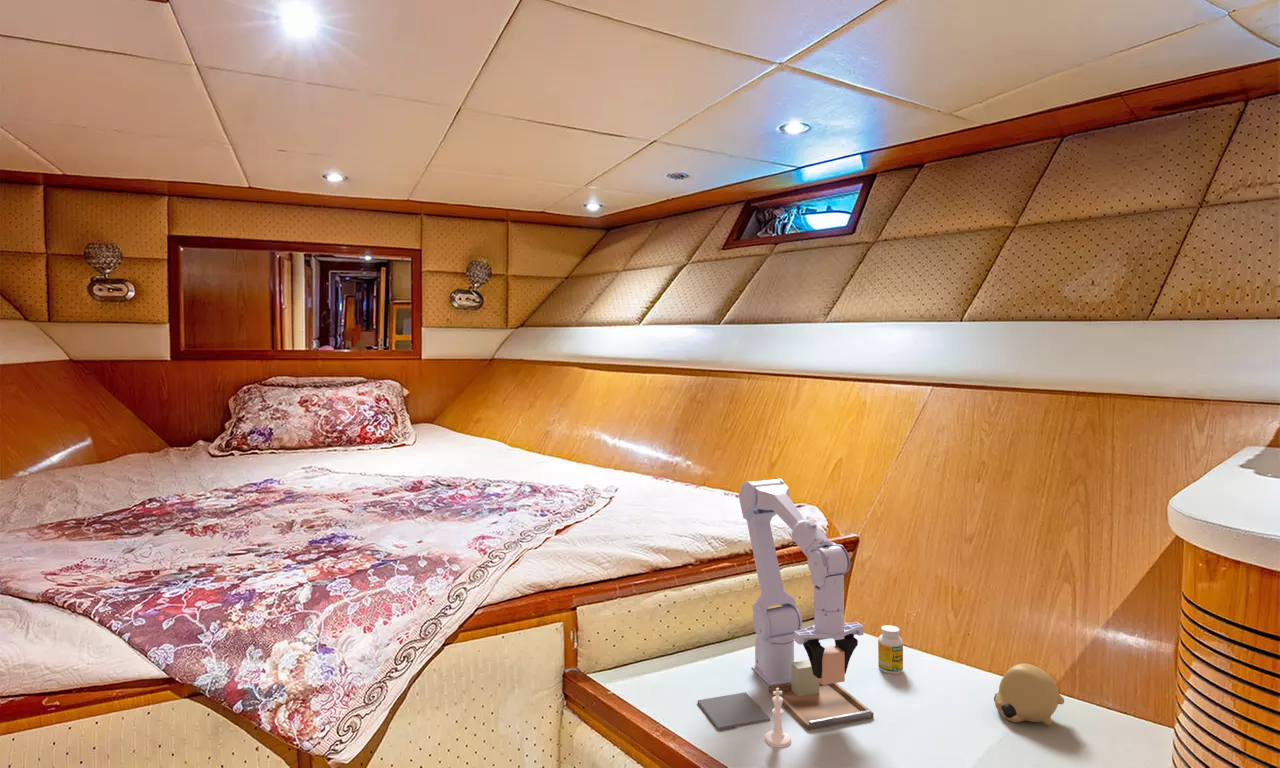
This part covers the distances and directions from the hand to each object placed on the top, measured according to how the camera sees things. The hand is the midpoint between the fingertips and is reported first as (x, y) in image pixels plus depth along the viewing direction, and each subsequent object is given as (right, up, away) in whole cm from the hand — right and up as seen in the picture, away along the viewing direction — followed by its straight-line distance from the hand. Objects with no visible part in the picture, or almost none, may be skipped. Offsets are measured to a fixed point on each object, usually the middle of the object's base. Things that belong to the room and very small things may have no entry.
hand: (829, 673), depth 134 cm
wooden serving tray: (-1, -8, +4) cm, 9 cm away
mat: (-19, -9, +2) cm, 21 cm away
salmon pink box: (0, -1, 0) cm, 1 cm away
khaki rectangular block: (-2, -8, +10) cm, 13 cm away
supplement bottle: (+20, -8, +20) cm, 29 cm away
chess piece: (-12, -9, -8) cm, 17 cm away
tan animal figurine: (+38, -8, -2) cm, 39 cm away
